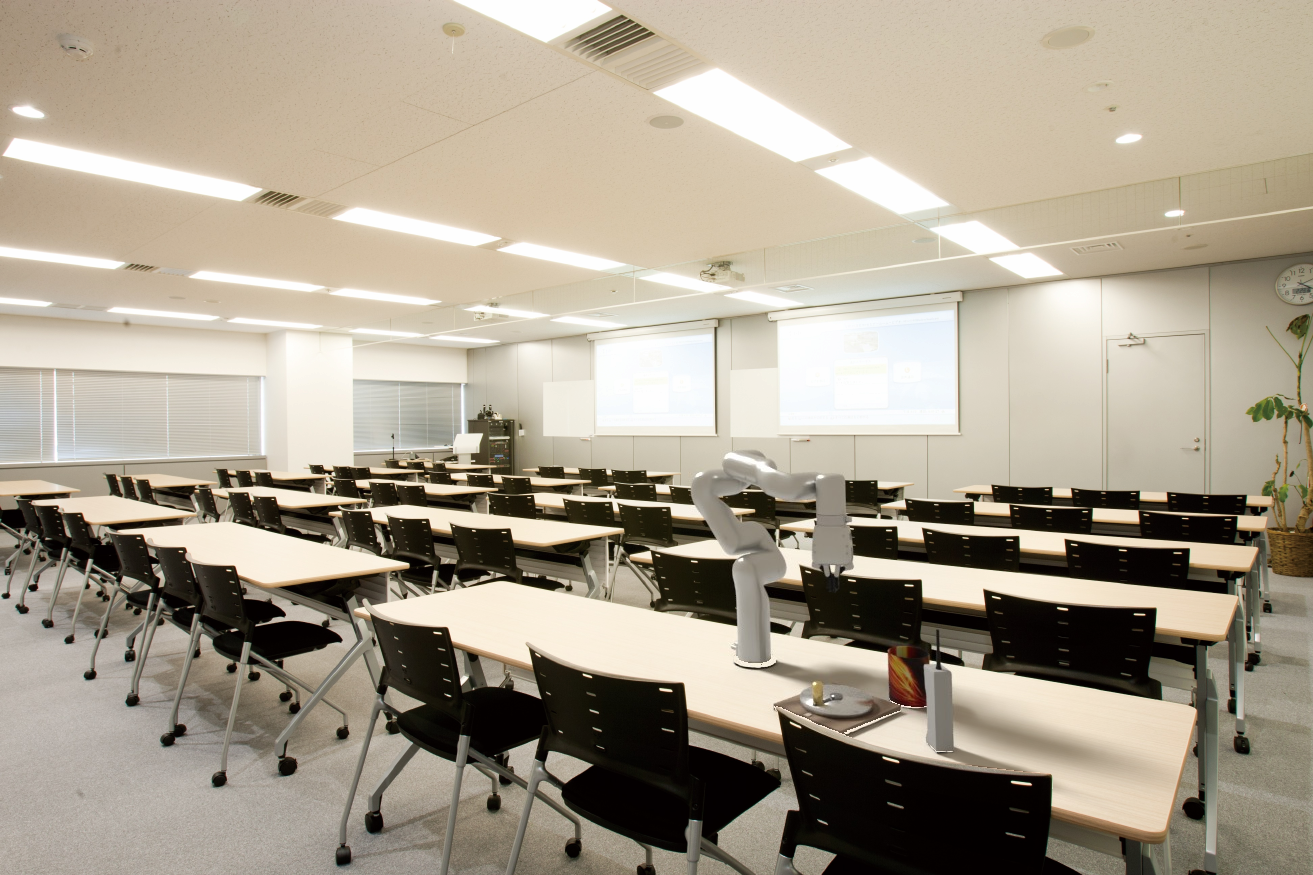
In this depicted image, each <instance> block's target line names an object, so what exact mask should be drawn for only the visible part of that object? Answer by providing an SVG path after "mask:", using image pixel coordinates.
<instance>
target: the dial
mask: <svg viewBox="0 0 1313 875" xmlns="http://www.w3.org/2000/svg"><path fill="white" fill-rule="evenodd" d="M811 684H812V685H811V686H810V687H807V688H804V689H803V690H802V691H801V692H800V693H799V694H800V704H801V706H802V707H803V708H804V709H806V710H807V711H809V712H811V713H814V714H817V715H820V716H825V717H830V718H856V717H861V716H864V715H867V714H869V713H870V712H872V711H873V709H874V700H873V697H872V696H873V695H872V696H871V694H870V693H868V692H867V691H865V690H863V689H859V688H858V687H853V686H850V685H843V684H840V685H827V684H824V683H823V682H822V681H819V680H814V681H812V683H811Z"/></svg>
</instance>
